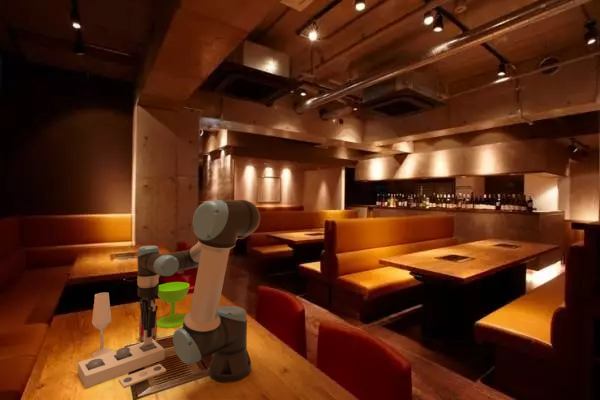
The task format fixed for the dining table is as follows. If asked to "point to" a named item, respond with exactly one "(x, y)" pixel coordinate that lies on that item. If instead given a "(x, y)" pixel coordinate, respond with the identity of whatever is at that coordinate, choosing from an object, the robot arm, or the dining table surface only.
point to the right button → (147, 347)
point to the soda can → (141, 329)
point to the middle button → (122, 353)
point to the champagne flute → (101, 319)
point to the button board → (119, 364)
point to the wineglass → (172, 303)
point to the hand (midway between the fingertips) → (148, 344)
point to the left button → (95, 363)
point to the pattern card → (142, 375)
